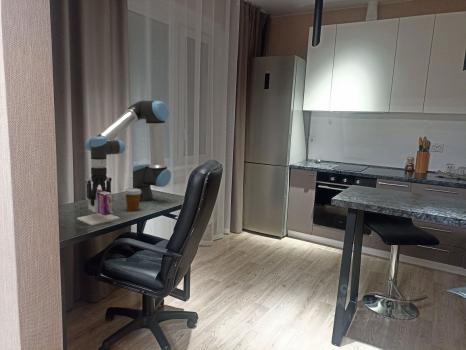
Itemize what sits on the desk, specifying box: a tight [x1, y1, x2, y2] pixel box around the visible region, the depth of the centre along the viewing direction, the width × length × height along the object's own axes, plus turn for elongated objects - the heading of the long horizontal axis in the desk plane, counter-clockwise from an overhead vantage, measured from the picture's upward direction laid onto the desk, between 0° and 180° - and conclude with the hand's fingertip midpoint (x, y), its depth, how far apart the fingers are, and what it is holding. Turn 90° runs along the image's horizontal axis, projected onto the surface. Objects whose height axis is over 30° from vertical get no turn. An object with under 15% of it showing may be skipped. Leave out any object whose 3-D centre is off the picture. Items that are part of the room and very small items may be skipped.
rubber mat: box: [76, 212, 120, 226], centre depth 176 cm, size 16×14×1 cm
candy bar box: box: [87, 188, 114, 216], centre depth 173 cm, size 11×5×16 cm
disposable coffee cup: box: [124, 187, 141, 212], centre depth 196 cm, size 10×10×12 cm
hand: (99, 210), depth 174 cm, fingers closed on candy bar box, 5 cm apart
